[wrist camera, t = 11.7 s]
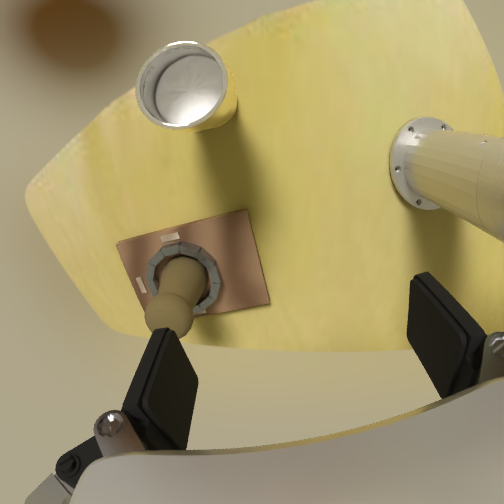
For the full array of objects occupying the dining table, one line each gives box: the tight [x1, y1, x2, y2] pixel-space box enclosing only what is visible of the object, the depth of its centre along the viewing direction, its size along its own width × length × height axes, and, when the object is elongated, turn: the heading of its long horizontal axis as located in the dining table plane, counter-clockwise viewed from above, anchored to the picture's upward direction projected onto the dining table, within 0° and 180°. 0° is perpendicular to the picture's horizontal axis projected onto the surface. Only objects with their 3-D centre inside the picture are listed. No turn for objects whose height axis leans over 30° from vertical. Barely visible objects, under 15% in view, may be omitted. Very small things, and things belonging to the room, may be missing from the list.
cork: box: [145, 255, 209, 339], centre depth 33 cm, size 6×6×11 cm
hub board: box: [116, 209, 270, 317], centre depth 38 cm, size 18×13×1 cm
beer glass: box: [136, 41, 237, 132], centre depth 24 cm, size 7×7×15 cm
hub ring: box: [146, 241, 222, 313], centre depth 37 cm, size 10×10×2 cm
